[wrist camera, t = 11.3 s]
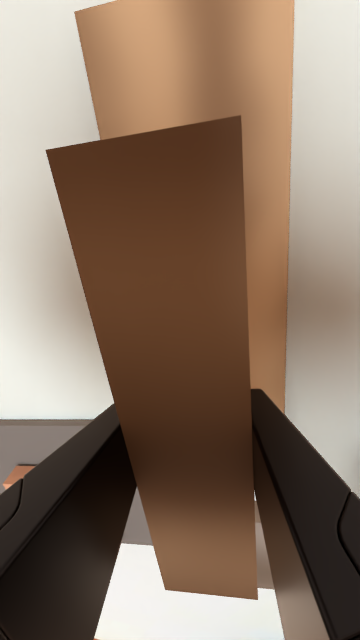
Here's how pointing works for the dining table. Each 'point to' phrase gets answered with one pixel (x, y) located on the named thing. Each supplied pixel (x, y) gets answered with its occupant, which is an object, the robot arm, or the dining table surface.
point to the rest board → (210, 104)
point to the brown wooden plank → (175, 337)
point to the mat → (43, 439)
